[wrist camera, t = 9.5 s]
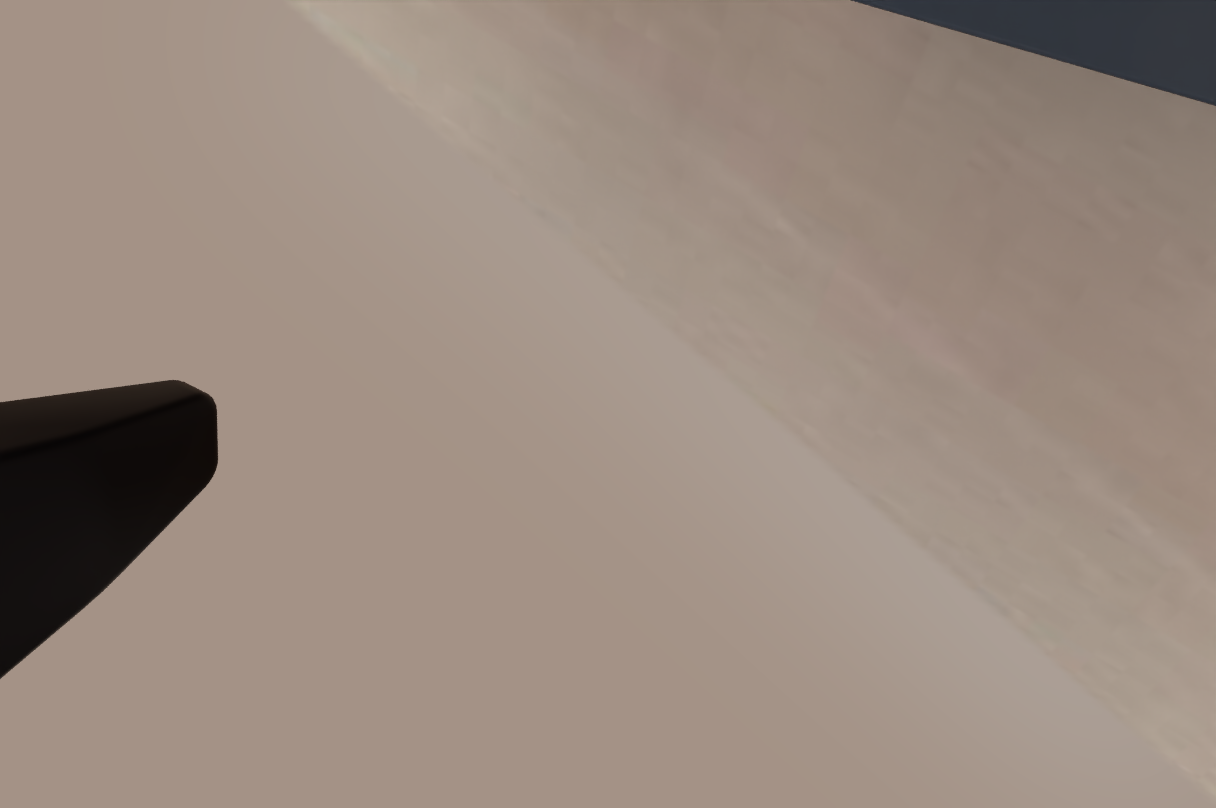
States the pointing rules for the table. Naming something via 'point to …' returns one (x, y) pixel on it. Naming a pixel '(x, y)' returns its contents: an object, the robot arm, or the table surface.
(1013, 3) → the shelf
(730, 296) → the table surface
